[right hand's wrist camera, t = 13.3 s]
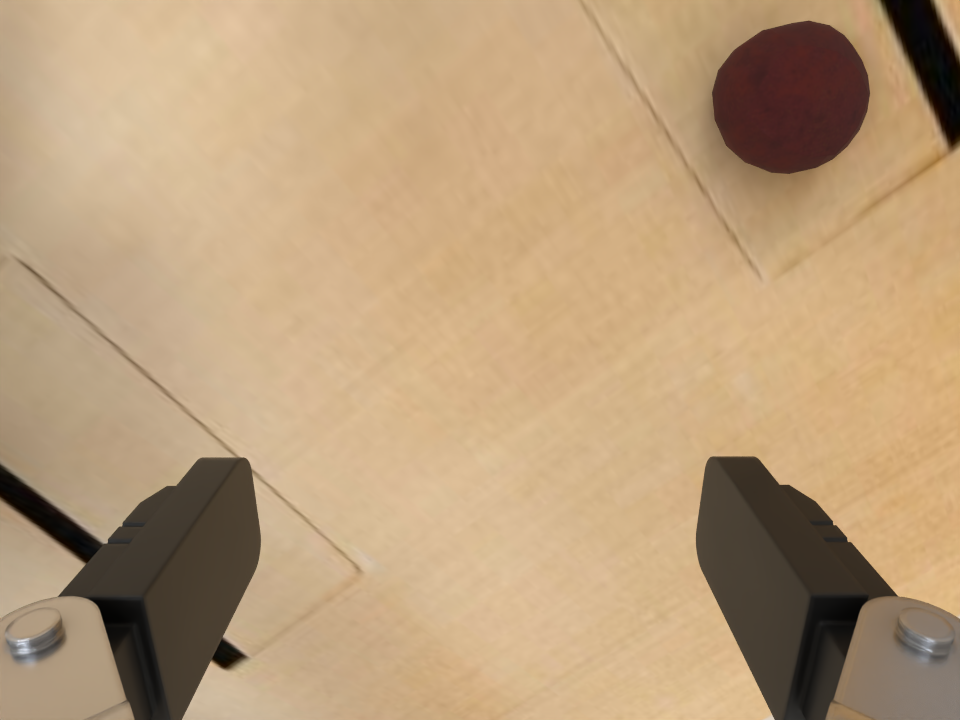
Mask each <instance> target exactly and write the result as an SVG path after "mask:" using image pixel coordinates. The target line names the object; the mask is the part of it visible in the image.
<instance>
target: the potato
mask: <svg viewBox="0 0 960 720" xmlns="http://www.w3.org/2000/svg"><path fill="white" fill-rule="evenodd" d="M712 95H713V105H714V116H715V121H716V123H717V126H718V128H719V130H720V132H721V135H722V137H723V139H724V141H725V144H726V146H727V147H729V148H730V149H731V150H732V151H733V152H734V153H735V154H736V155H737V156H739V157H740V158H741V159H742V160H743V161H744V162H746V163H748V164H751V165H754V166H757V167H759V168H762V169H764V170H766V171H769V172H772V173H786V174H790V173H795V172H799V171H804V170H808V169H812V168H816V167H818V166H820V165H822V164H824V163H826V162H828V161H830V160H832V159H833V158H835V157H836V156H837V155H838V154H839V153H840V152H841V151H843V150H844V149H845V148H846V147H847V146H848V145H849V143H850V142H851V141H852V139H853V138H854V137H855V135H856V134H857V133H858V131H859V130H860V127H861V125H862V122H863V120H864V118H865V115H866V113H867V109H868V102H869V96H870V90H869V81H868V75H867V72H866V69H865V67H864V64H863V62H862V59H861V58H860V56H859V55H858V53H857V52H856V50H855V48H854V47H853V45H852V44H851V43H850V42H849V41H848V39H847V38H846V37H845V36H844V35H843V34H842V33H840V32H839V31H837V30H836V29H834V28H833V27H831V26H830V25H825V24H821V23H816V22H812V21H804V22H797V23H791V24H787V25H783V26H779V27H775V28H771V29H767V30H763V31H761V32H760V33H758V34H757V35H755V36H754V37H752V38H751V39H749V40H748V41H747V42H745V43H744V44H742V45H741V46H739V47H738V48H737V49H735V50H734V51H733V52H732V53H731V55H730V56H729V57H728V59H727V60H726V61H725V63H724V64H723V65H722V66H721V68H720V69H719V70H718V73H717V77H716V81H715V84H714V88H713V92H712Z"/></svg>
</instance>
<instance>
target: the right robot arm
mask: <svg viewBox="0 0 960 720" xmlns="http://www.w3.org/2000/svg"><path fill="white" fill-rule="evenodd" d="M260 546H261V535H260V527H259V519H258V512H257V505H256V498H255V491H254V484H253V477H252V470H251V466H250V463H249V461H248V460H247V459H246V458H200V459H198V460H197V461H196V463H195V464H194V465H193V466H192V468H191V469H190V470H189V471H188V472H187V474H186V475H185V476H184V477H183V479H182V480H181V481H180V482H179V483H178V485H177V486H166V487H165V488H163V489H162V490H160V491H159V492H157V493H155V494H154V495H152V496H151V497H149V498H147V499H146V500H144V501H143V502H141V503H140V504H139V505H138V506H137V507H136V508H135V509H134V511H133V512H132V513H131V514H130V515H129V516H128V517H127V518H126V520H125V521H124V522H123V526H122V527H119V528H118V529H117V530H116V531H115V532H114V533H113V534H112V536H111V537H110V538H109V539H108V544H104V545H103V546H102V547H101V548H100V549H99V550H98V552H97V553H96V554H95V555H94V556H93V557H92V558H91V559H90V561H89V562H88V563H87V564H86V565H85V566H84V567H83V569H82V570H81V571H80V572H79V573H78V574H77V575H76V577H75V578H74V579H73V580H72V581H71V582H70V583H69V585H68V586H67V587H66V588H65V589H64V590H63V591H62V592H61V594H60V595H59V596H58V597H55V598H50V599H45V600H41V601H38V602H35V603H32V604H29V605H27V606H24V607H22V608H19V609H17V610H15V611H13V612H11V613H9V614H8V615H6V616H4V617H3V618H1V619H0V720H182V718H183V716H184V714H185V712H186V710H187V708H188V706H189V704H190V702H191V700H192V698H193V696H194V694H195V692H196V690H197V688H198V686H199V684H200V682H201V679H202V677H203V675H204V673H205V671H206V669H207V667H208V665H209V663H210V661H211V659H212V657H213V655H214V653H215V651H216V649H217V647H218V645H219V643H220V641H221V639H222V637H223V635H224V633H225V631H226V629H227V627H228V625H229V623H230V621H231V619H232V617H233V615H234V613H235V611H236V609H237V607H238V605H239V603H240V601H241V599H242V597H243V595H244V593H245V590H246V588H247V586H248V584H249V582H250V580H251V578H252V576H253V574H254V572H255V570H256V567H257V564H258V560H259V555H260ZM696 549H697V556H698V560H699V564H700V567H701V570H702V572H703V574H704V576H705V578H706V580H707V582H708V584H709V586H710V588H711V590H712V592H713V594H714V596H715V598H716V600H717V602H718V605H719V607H720V609H721V611H722V613H723V615H724V617H725V619H726V621H727V623H728V625H729V627H730V629H731V631H732V633H733V635H734V637H735V639H736V641H737V643H738V645H739V648H740V650H741V652H742V654H743V656H744V658H745V660H746V662H747V664H748V666H749V668H750V670H751V672H752V674H753V676H754V678H755V680H756V682H757V684H758V686H759V688H760V691H761V693H762V695H763V697H764V699H765V701H766V703H767V705H768V707H769V709H770V711H771V713H772V715H773V717H774V719H775V720H960V619H959V618H957V617H956V616H954V615H952V614H951V613H949V612H947V611H945V610H943V609H941V608H938V607H936V606H933V605H931V604H928V603H925V602H922V601H919V600H915V599H910V598H905V597H898V596H897V595H896V593H895V592H894V591H893V590H892V589H891V588H890V586H889V585H888V584H887V583H886V582H885V581H884V580H883V578H882V577H881V576H880V575H879V574H878V573H877V572H876V570H875V569H874V568H873V567H872V566H871V565H870V563H869V562H868V561H867V560H866V559H865V558H864V557H863V555H862V554H861V553H860V552H859V551H858V550H857V549H856V547H855V546H854V545H853V544H852V543H851V542H848V541H847V537H846V536H845V535H844V534H843V532H842V531H841V530H840V529H839V528H838V527H837V526H836V525H833V521H832V520H831V519H830V518H829V516H828V515H827V514H826V513H825V512H824V511H823V510H822V508H821V507H820V506H819V505H818V504H817V503H816V502H815V501H814V500H812V499H811V498H809V497H807V496H806V495H804V494H803V493H801V492H799V491H798V490H796V489H795V488H793V487H791V486H790V485H779V484H778V482H777V481H776V480H775V479H774V477H773V476H772V475H771V474H770V472H769V471H768V470H767V469H766V468H765V466H764V465H763V464H762V463H761V461H760V460H759V459H758V458H756V457H710V458H709V460H708V461H707V464H706V467H705V473H704V480H703V487H702V494H701V501H700V509H699V516H698V523H697V531H696Z"/></svg>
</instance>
